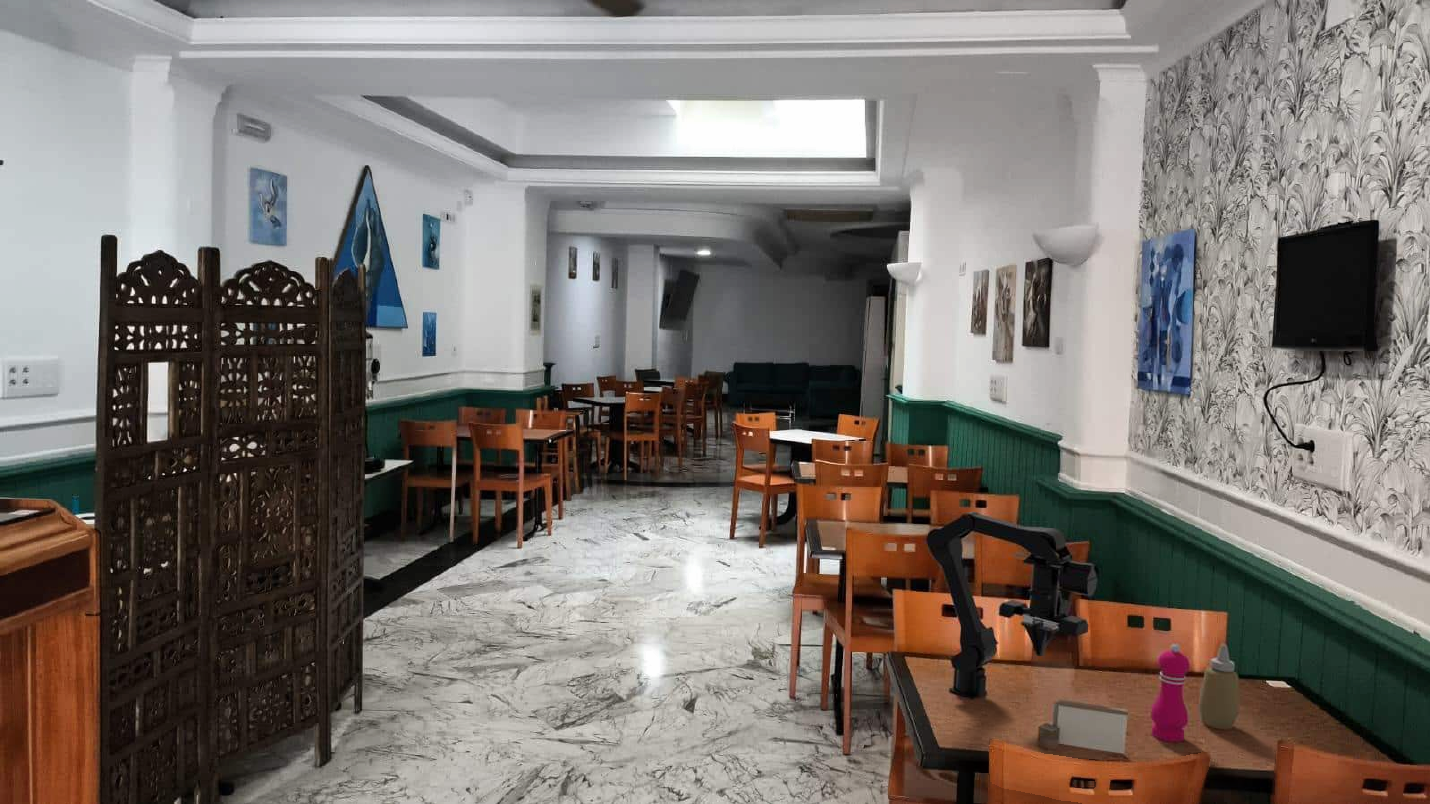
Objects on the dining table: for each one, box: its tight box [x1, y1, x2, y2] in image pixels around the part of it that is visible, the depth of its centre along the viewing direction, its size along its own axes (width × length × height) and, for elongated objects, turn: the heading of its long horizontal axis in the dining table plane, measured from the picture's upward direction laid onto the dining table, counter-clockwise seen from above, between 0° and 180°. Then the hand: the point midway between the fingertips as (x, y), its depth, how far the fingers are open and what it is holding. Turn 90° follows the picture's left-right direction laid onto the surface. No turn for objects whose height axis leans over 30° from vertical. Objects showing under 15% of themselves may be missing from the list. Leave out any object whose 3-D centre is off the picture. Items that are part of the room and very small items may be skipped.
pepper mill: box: [1150, 643, 1190, 743], centre depth 209 cm, size 7×7×20 cm
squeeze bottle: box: [1198, 643, 1240, 730], centre depth 217 cm, size 8×8×18 cm
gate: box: [1052, 699, 1129, 754], centre depth 201 cm, size 1×14×9 cm, turn 74°
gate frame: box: [1036, 722, 1060, 751], centre depth 207 cm, size 3×19×4 cm, turn 132°
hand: (1039, 655), depth 218 cm, fingers closed
